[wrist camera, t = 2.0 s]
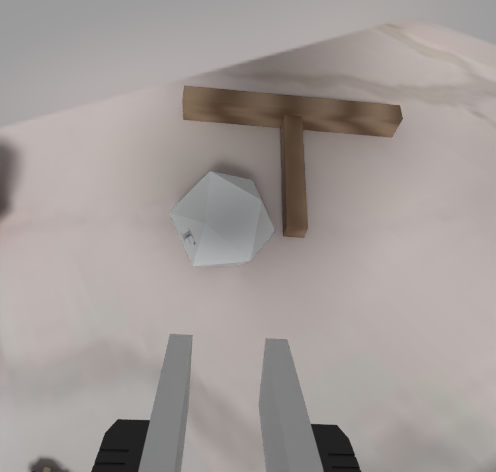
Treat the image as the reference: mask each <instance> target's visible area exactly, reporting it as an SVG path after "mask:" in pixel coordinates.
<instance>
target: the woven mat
mask: <svg viewBox="0 0 496 472" xmlns="http://www.w3.org/2000/svg"><path fill="white" fill-rule="evenodd" d="M50 470H51V468H48V467H44V469H43V471H42V472H50ZM32 472H35V471H32Z"/></svg>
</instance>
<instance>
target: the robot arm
mask: <svg viewBox="0 0 496 472" xmlns="http://www.w3.org/2000/svg"><path fill="white" fill-rule="evenodd" d="M191 352H192V335H179V334H170V337H169V341H168V345H167V350H166V354H165V358H164V363H163V367H162V371H161V376H160V380H159V384H158V388H157V393H156V397H155V401H154V406H153V410H152V414H151V419H150V420H122V419H118V420H117V421H116V422H115V423H114V424H113V425H112V426H111V427H110V428H109V429H108V431H107V432H106V433H105V435H104V438H103V441H102V443H101V446H100V450H99V452H98V455H97V457H96V460H95V464H94V466H93V468H92V471H91V472H181V466H182V457H183V449H184V440H185V431H186V422H187V414H188V405H189V389H190V371H191ZM259 413H260V421H261V430H262V438H263V446H264V455H265V463H266V471H267V472H361V470H360V469H359V464H358V462H357V459H356V457H355V454H354V451H353V448H352V446H351V443H350V441H349V438H348V437H347V436H346V435H345V434H344V433H343V432H342V430H341V429H340V428H339V427H338V426H337V425H323V424H310V420H309V416H308V413H307V409H306V405H305V402H304V398H303V395H302V391H301V387H300V384H299V380H298V377H297V373H296V369H295V366H294V362H293V358H292V355H291V351H290V348H289V344H288V340H286V339H266V341H265V350H264V359H263V368H262V378H261V387H260V396H259Z"/></svg>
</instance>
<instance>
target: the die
mask: <svg viewBox="0 0 496 472" xmlns="http://www.w3.org/2000/svg"><path fill="white" fill-rule="evenodd" d="M169 214H170V216H171V218H172V221H173V223H174V225H175V227H176V230H177V232H178V234H179V236H180V239H181V241H182V243H183V246H184V248H185V250H186V252H187V255H188V257H189V259H190V262H191V264H192V266H195V267H236V266H239V265H242V264H244V263H247V262H250V261H251V260H252V258H253V257H254V256H255V255H256V254H257V252H258V251H259V250H260V249H261V247H262V246H263V245H264V244H265V242H266V241H267V240H268V239H269V238H270V236H271V235H272V234H273V233H274V231H275V229H274V227H273V224H272V222H271V220H270V217H269V215H268V213H267V211H266V208H265V206H264V204H263V201H262V199H261V197H260V195H259V193H258V191H257V188H256V186H255V184H254V182H253V180H251V179H246V178H241V177H237V176H232V175H227V174H223V173H218V172H213V171H209V172H208V173H207V174H206V175H205V176H204V177H203V178H202V179H201V180H200V181H199V182H198V183H197V184H196V185H195V186H194V187H193V188H192V189H191V190H190V191H189V192H188V193H187V194H186V195H185V196H184V197H183V198H182V200H181V201H180V202H179V203H178V204H177V205H176V206H175V207H174V208H173V209H172V210H171V211H170V212H169Z"/></svg>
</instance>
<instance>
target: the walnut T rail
mask: <svg viewBox="0 0 496 472" xmlns="http://www.w3.org/2000/svg"><path fill="white" fill-rule="evenodd" d="M183 119H184V120H195V121H207V122H219V123H231V124H242V125H254V126H266V127H277V128H281V151H282V197H283V236H286V237H302V238H303V237H304V235H305V233H306V231H307V229H308V219H307V201H306V182H305V163H304V144H303V130H313V131H324V132H336V133H348V134H359V135H371V136H383V137H392V136H393V135H394V133H395V131H396V129H397V128H398V126H399V124H400V123H401V121H402V119H403V118H402V113H401V108H400V105H389V104H378V103H367V102H356V101H345V100H334V99H323V98H313V97H302V96H291V95H280V94H269V93H258V92H247V91H236V90H225V89H214V88H203V87H192V86H184V92H183Z"/></svg>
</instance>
